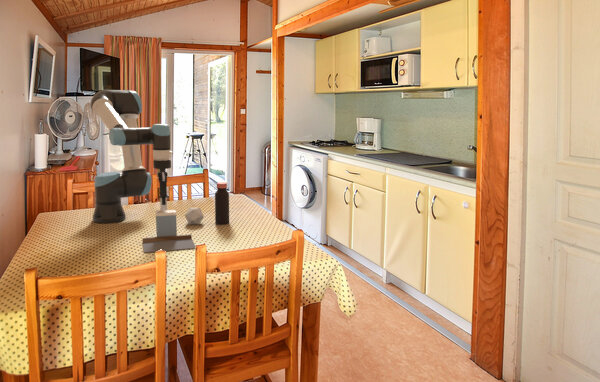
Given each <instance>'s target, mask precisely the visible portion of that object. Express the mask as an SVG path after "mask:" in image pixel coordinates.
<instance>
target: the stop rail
mask: <svg viewBox="0 0 600 382" xmlns="http://www.w3.org/2000/svg"><path fill="white" fill-rule="evenodd" d="M192 237H193V236H192V234H191V233H190V234H180V235H176V236H162V237H157V236H152V237H151V236H150V237H142V243H143V242H154V241H167V240H180V239H192ZM192 240H193V239H192Z"/></svg>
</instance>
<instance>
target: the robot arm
mask: <svg viewBox="0 0 600 382" xmlns="http://www.w3.org/2000/svg"><path fill="white" fill-rule="evenodd" d="M90 109H91V111H92V112H93V113H94V115H95V116H97V117H99V119H100V120H101V121H102V122H103V124H104V125H105V126H106V128H107V130H108V131H109V132H108V139H109V142H110V144H111V145H112V146H121V150H122V157H123V169H122V170H121V173H120V172H119V171H108V172H103V173H99V174H97V175H95V177H94V182H93V184H94V185H93V187H94V197H95V199H94V200H95V207H94V210H93V213H92V222H93V223H98V224H112V223H119V222H123V221H125V220H126V218H127V216H126V212H125V209H124V207H123V204H122V199H123V198H131V197H142V196H146V195H148V194H149V193H150V191H151V189H152V181H153V180H152V176H151V173H150V172H147V168H145V167H144V166H143V161H142V154H141V153H142V152H141V145H143V146H144V145H152V159H153V166H152V167H153V168H154V169H155V170H159V171H158V172H157V176H158V182H159V184H158V185H159V186H158V187H159V196H158V198H159V204H160V206H159V207H160V211H163V210H168V199H167V197H168V196H169V195H168V191H167V189H168V188H167V187H168V184H167V183H168V171H166V169H171V168H172V161H171V158H172V154H173V151H171V129H170V127H171V126H170V124H167V123H155V124H152V125H151V127H149V126H148V127H138V124H137V123H138V121H137V119H138V118H139V117H140V114H141V113H142V110H143V104H142V99H141V96H140V94H139V93H138V92H137V91H135V90H129V89H102V90H100V91H97V92H96V93H95V94H94V95H93V96H92V98H91V100H90Z"/></svg>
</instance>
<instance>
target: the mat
mask: <svg viewBox="0 0 600 382" xmlns="http://www.w3.org/2000/svg"><path fill="white" fill-rule="evenodd" d="M195 246H196V244H195V243H194V241H193V239H180V240H167V241H154V242H143V241H142V248H143V254H149V253H150V254H151V253H156V252H155V251H158V250H160V249H162V250H165V251H164V252H173V251H175V250H176V251H186V250H185V249H187V250H195V249H194V248H195Z"/></svg>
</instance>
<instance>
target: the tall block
mask: <svg viewBox="0 0 600 382" xmlns="http://www.w3.org/2000/svg"><path fill="white" fill-rule="evenodd" d="M155 228H156V229H155V230H156V237H162V236H176V235H177V234H178V232H177V231H178V228H177V211H176V209H167V210H163V211H161V210H155Z"/></svg>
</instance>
